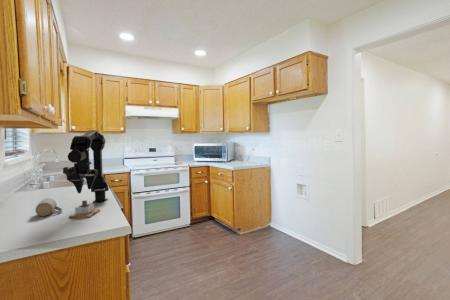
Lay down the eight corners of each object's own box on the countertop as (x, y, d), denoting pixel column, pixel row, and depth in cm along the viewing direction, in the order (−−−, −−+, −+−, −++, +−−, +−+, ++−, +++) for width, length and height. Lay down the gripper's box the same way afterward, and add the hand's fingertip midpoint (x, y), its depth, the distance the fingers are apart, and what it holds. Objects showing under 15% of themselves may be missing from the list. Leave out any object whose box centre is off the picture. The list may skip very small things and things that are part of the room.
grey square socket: (82, 211, 121) (81, 204, 121) (94, 210, 121) (93, 203, 121) (75, 214, 115) (75, 207, 115) (87, 214, 115) (87, 207, 115)
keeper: (80, 211, 123) (79, 198, 123) (100, 211, 124) (99, 198, 123) (68, 218, 113) (68, 204, 113) (90, 217, 114) (89, 203, 113)
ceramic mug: (34, 218, 115) (34, 202, 114) (39, 213, 122) (38, 198, 122) (60, 214, 119) (60, 200, 119) (63, 210, 127) (63, 196, 126)
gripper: (77, 159, 127) (78, 187, 128) (53, 163, 109) (56, 196, 109) (98, 158, 128) (99, 187, 129) (78, 162, 109) (80, 195, 110)
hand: (84, 191), depth 119 cm, fingers open, 9 cm apart
